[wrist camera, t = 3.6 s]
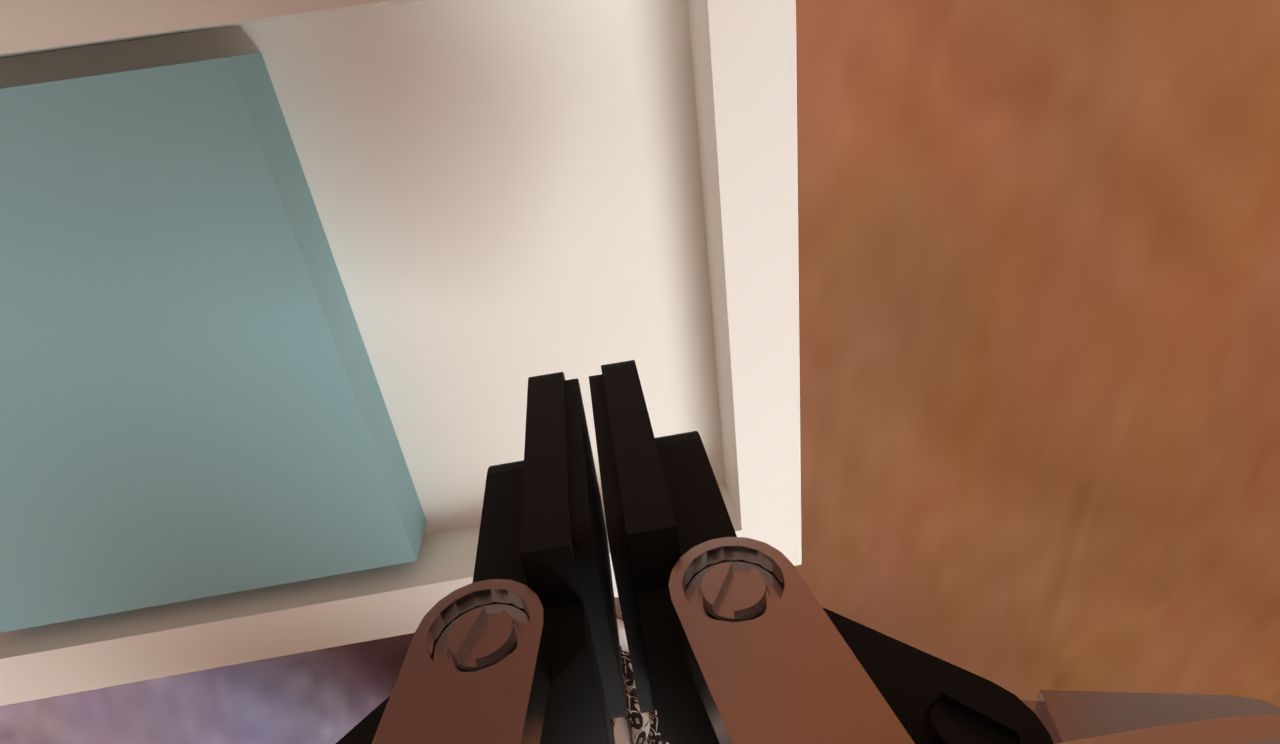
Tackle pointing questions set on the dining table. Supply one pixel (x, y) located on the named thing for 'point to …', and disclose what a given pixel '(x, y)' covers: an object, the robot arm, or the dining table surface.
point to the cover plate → (177, 354)
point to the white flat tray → (490, 260)
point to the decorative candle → (634, 706)
